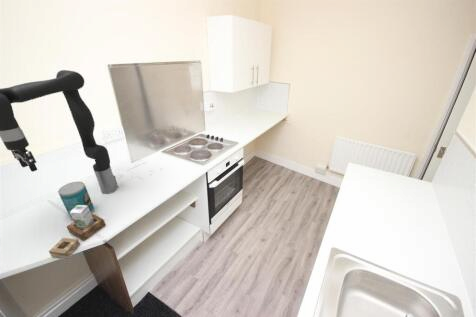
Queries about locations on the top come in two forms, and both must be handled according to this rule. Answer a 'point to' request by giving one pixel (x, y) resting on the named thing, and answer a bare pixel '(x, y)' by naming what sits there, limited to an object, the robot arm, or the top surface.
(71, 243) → the tan wooden square frame
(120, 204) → the top surface
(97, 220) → the brown wooden square frame
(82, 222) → the syrup box
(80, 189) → the food can
